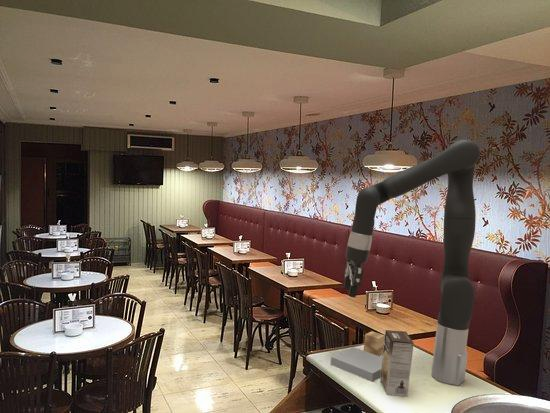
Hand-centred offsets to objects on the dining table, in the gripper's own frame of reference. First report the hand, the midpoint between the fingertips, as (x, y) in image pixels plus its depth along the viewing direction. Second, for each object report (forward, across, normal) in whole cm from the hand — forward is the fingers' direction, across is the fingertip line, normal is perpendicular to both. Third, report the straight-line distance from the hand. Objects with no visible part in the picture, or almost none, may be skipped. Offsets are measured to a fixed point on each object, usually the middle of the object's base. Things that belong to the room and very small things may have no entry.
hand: (349, 292), depth 150 cm
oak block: (+21, +3, -14) cm, 25 cm away
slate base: (+21, -8, -7) cm, 24 cm away
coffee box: (+20, -22, -13) cm, 33 cm away
